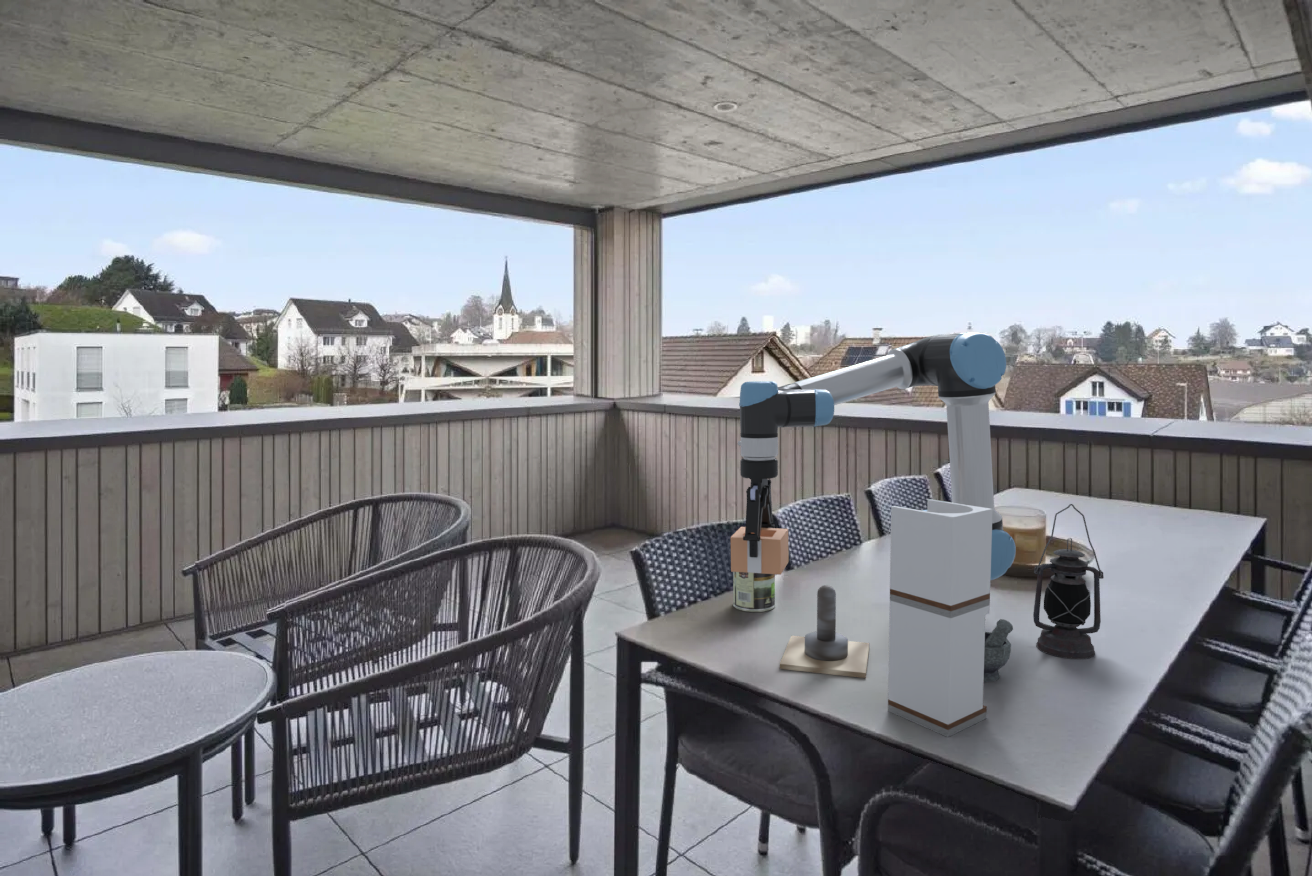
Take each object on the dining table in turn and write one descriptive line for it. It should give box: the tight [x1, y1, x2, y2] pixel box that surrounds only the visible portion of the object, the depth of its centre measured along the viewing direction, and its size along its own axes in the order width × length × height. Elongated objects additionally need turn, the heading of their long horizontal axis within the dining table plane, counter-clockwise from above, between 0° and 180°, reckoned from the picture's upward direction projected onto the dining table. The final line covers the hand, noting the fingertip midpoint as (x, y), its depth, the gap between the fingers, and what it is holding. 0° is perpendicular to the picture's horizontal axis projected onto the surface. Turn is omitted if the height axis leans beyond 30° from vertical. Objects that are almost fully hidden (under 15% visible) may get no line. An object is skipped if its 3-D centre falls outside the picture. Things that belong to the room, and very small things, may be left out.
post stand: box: [779, 584, 870, 679], centre depth 152 cm, size 16×16×15 cm
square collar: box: [730, 526, 790, 575], centre depth 157 cm, size 10×10×7 cm
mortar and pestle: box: [983, 618, 1014, 683], centre depth 143 cm, size 11×9×12 cm
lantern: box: [1032, 503, 1105, 660], centre depth 155 cm, size 12×11×30 cm
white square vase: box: [887, 498, 993, 738], centre depth 126 cm, size 11×11×35 cm
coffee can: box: [732, 572, 776, 613], centre depth 186 cm, size 10×10×14 cm
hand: (759, 565), depth 157 cm, fingers closed on square collar, 10 cm apart
